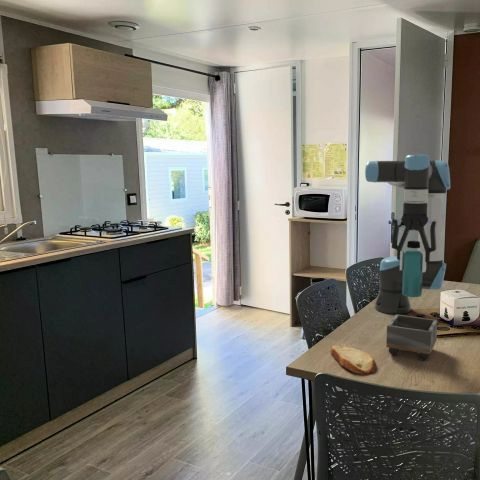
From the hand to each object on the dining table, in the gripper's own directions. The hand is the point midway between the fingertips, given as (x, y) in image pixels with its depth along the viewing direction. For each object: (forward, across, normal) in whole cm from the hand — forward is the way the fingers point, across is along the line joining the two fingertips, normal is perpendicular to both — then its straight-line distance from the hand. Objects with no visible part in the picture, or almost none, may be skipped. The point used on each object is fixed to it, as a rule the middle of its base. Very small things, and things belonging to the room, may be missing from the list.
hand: (412, 270), depth 168 cm
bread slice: (+29, -16, -17) cm, 37 cm away
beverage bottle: (+10, 0, 0) cm, 10 cm away
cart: (+29, +1, 0) cm, 29 cm away
